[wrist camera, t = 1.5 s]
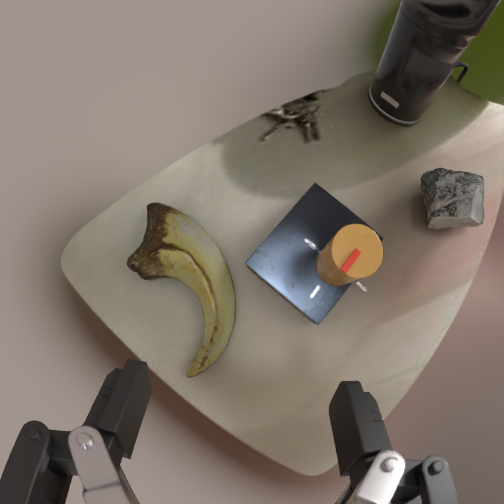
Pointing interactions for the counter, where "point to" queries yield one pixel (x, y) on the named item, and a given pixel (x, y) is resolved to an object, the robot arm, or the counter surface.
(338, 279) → the tan cylinder
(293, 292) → the panel
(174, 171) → the counter surface
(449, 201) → the stone
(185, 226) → the claw
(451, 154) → the counter surface
